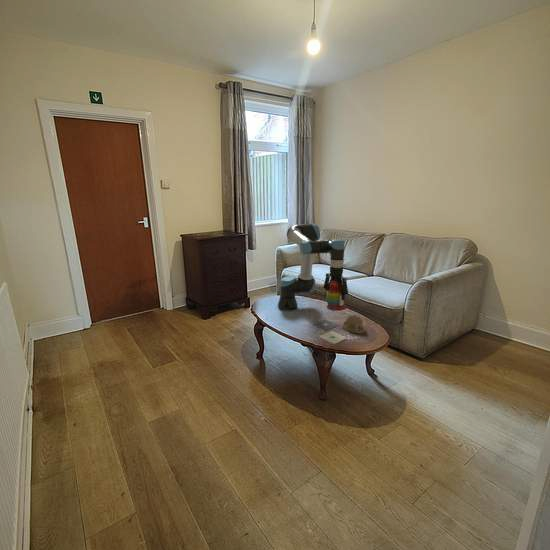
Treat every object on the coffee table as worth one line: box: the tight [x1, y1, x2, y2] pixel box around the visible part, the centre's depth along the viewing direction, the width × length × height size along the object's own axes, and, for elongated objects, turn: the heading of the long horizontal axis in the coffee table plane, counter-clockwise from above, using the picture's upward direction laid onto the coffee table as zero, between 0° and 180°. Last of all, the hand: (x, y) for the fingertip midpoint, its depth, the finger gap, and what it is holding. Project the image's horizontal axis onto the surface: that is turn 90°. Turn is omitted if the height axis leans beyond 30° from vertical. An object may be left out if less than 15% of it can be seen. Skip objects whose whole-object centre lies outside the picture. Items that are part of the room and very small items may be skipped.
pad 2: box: [318, 330, 348, 345], centre depth 193 cm, size 12×12×1 cm
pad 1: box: [313, 318, 339, 332], centre depth 211 cm, size 12×12×1 cm
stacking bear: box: [326, 280, 347, 312], centre depth 185 cm, size 11×10×18 cm
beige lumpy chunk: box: [342, 314, 365, 334], centre depth 203 cm, size 14×11×10 cm
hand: (334, 302), depth 187 cm, fingers closed on stacking bear, 9 cm apart
